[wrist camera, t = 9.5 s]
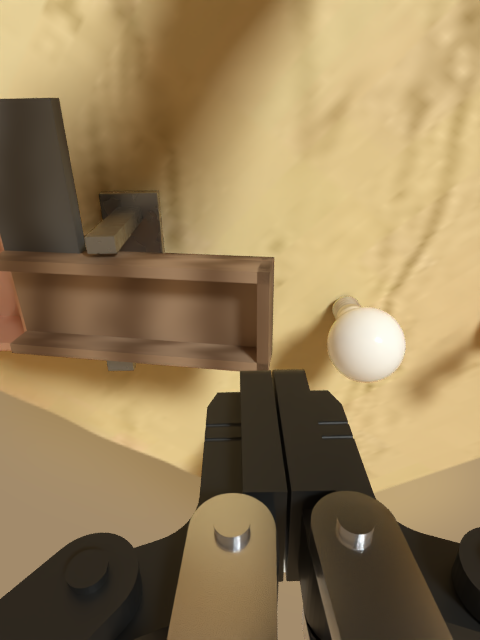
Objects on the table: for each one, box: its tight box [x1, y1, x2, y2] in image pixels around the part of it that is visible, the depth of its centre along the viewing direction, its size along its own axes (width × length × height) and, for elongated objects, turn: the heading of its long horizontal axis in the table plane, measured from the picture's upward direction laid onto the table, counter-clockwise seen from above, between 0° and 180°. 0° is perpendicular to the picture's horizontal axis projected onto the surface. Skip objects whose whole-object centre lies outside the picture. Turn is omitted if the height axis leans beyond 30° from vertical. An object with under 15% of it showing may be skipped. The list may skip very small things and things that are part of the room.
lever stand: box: [85, 191, 165, 371], centre depth 36 cm, size 5×13×10 cm, turn 1°
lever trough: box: [0, 98, 274, 371], centre depth 30 cm, size 20×18×3 cm
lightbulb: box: [327, 296, 406, 383], centre depth 39 cm, size 6×6×11 cm
